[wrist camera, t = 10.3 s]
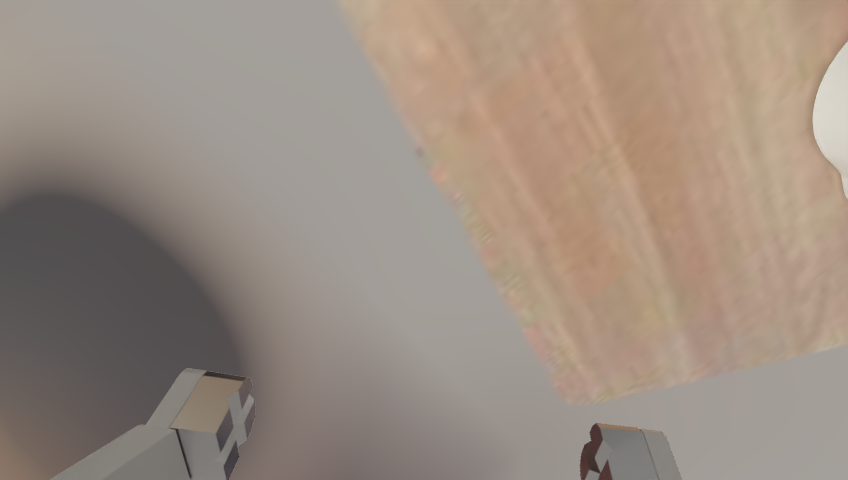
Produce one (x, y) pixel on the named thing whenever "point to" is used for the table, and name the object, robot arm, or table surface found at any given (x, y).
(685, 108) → the table surface
